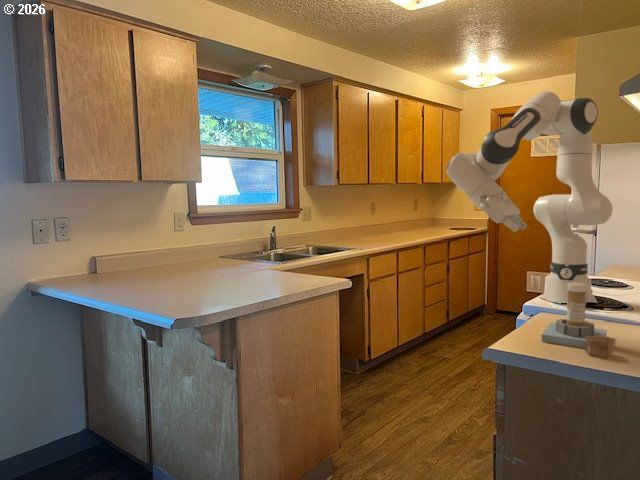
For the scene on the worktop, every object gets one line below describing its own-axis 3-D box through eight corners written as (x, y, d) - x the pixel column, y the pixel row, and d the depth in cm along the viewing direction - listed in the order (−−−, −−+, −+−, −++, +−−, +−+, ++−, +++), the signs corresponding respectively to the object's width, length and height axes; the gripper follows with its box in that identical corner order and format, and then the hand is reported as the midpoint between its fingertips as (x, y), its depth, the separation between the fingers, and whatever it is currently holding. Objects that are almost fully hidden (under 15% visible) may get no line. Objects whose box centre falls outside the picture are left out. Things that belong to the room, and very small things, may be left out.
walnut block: (585, 351, 118) (585, 335, 118) (602, 352, 117) (603, 336, 117) (589, 356, 114) (590, 340, 114) (607, 357, 113) (608, 341, 113)
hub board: (550, 328, 137) (551, 313, 137) (606, 336, 129) (607, 320, 128) (541, 341, 126) (542, 325, 125) (602, 351, 118) (602, 333, 117)
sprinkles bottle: (567, 328, 130) (569, 281, 129) (586, 331, 127) (588, 283, 126) (563, 332, 127) (565, 283, 125) (582, 335, 124) (584, 286, 122)
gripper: (485, 188, 131) (521, 224, 126) (504, 188, 148) (536, 219, 143) (469, 204, 134) (503, 239, 129) (489, 202, 151) (520, 233, 146)
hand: (521, 229), depth 136 cm, fingers open, 8 cm apart
